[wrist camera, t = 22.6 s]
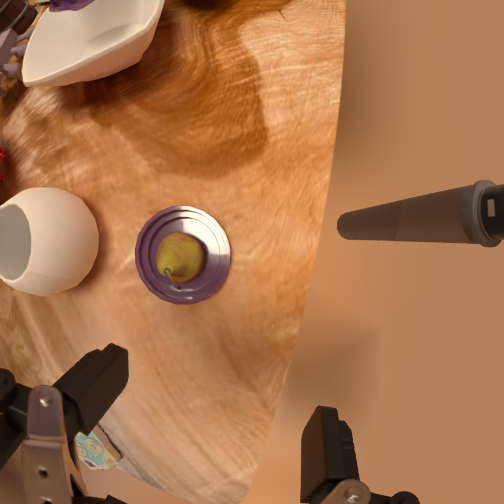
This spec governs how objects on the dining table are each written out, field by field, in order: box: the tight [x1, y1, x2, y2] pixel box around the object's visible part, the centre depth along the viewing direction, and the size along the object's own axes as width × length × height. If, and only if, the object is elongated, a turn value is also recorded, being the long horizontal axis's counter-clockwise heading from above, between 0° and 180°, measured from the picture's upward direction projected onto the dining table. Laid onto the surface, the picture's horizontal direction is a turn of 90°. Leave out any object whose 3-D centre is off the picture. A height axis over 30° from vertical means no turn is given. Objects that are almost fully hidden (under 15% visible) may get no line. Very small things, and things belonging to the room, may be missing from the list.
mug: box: [0, 0, 37, 36], centre depth 21 cm, size 16×12×15 cm
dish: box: [135, 206, 231, 304], centre depth 33 cm, size 11×11×3 cm
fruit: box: [156, 232, 204, 290], centre depth 28 cm, size 6×6×12 cm
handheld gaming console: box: [75, 425, 121, 470], centre depth 33 cm, size 11×3×15 cm
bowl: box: [22, 0, 165, 87], centre depth 26 cm, size 22×22×12 cm
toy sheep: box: [0, 26, 36, 97], centre depth 24 cm, size 20×11×14 cm, turn 179°
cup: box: [0, 187, 99, 297], centre depth 27 cm, size 13×13×14 cm
